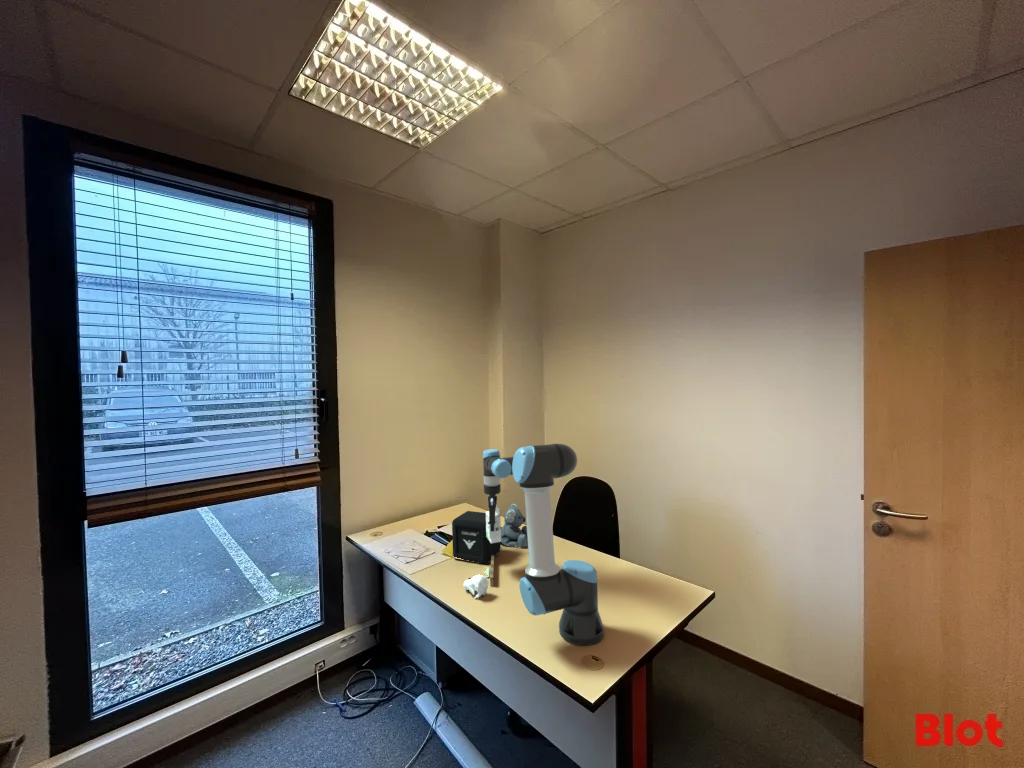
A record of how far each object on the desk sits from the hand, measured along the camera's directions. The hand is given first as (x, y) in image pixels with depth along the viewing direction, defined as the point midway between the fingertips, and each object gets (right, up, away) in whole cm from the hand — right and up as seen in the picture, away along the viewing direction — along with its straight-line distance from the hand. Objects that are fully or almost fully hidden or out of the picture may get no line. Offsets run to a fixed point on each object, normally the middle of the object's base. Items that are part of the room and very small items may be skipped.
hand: (493, 533), depth 183 cm
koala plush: (+9, -18, +35) cm, 41 cm away
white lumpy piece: (-7, -19, -17) cm, 26 cm away
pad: (-6, -18, 0) cm, 19 cm away
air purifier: (-9, -18, +18) cm, 27 cm away
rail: (0, -18, -1) cm, 18 cm away
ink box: (0, -3, 0) cm, 3 cm away
